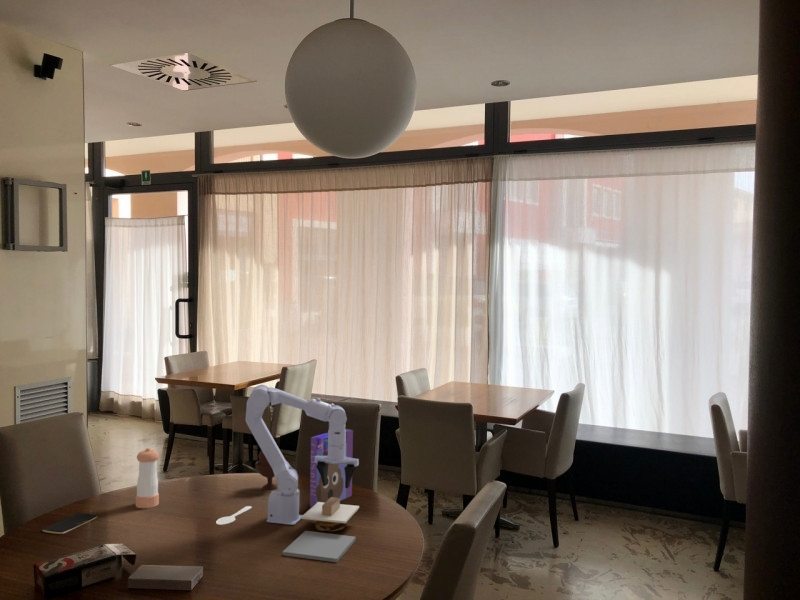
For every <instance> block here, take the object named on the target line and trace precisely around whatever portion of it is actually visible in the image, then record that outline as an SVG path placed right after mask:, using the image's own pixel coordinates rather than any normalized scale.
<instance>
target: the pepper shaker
mask: <svg viewBox="0 0 800 600" xmlns="http://www.w3.org/2000/svg"><path fill="white" fill-rule="evenodd" d="M159 458H160V454H159V452H158V451H157V450H154V449H151V448H149V447H146V448H145V449H144V450H141V451H140V452H138V453H137V456H136V460H137V462H138V463H139V464H138V477H137V484H136V495H135V508H137V509H151V508H154V507H156V506H158V505H159V504H160V494H159V480H158V474H157V473H158V472H157V467H158V466H157V465H158V462H157V460H158V459H159Z"/></svg>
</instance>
